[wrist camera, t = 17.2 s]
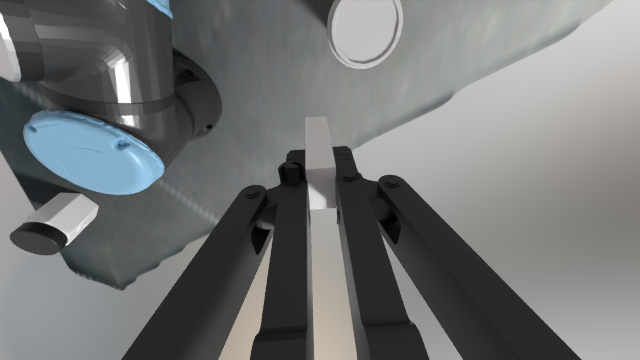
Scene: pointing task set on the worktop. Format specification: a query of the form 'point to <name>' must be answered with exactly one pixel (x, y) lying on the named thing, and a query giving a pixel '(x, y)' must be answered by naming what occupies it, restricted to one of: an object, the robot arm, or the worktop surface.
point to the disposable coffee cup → (364, 30)
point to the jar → (55, 224)
